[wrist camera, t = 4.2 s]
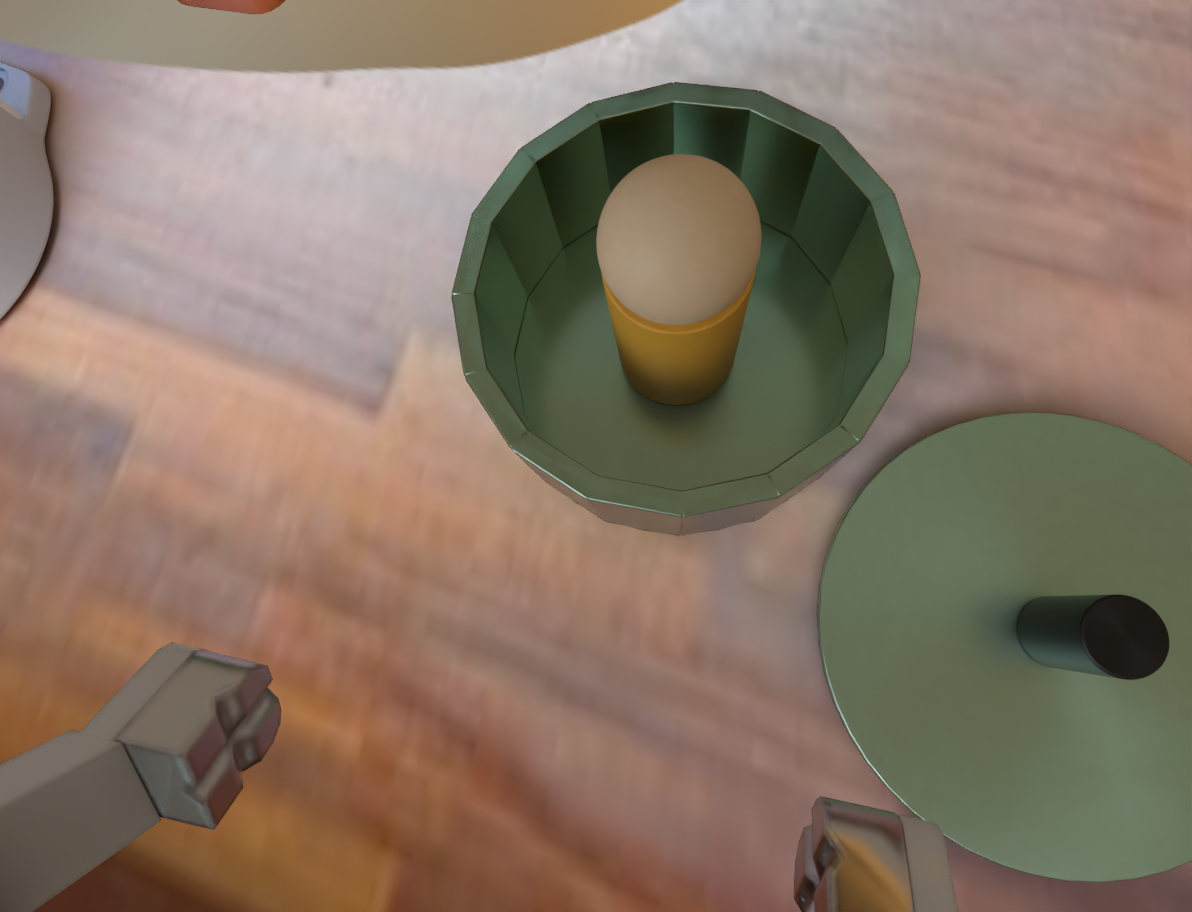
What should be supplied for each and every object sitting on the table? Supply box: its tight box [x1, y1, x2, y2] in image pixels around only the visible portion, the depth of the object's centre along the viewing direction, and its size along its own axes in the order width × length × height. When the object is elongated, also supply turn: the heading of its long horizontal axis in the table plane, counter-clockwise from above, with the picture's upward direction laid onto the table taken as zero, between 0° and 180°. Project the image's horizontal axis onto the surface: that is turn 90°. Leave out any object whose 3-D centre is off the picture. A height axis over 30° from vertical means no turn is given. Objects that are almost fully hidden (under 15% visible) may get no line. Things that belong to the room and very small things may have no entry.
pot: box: [452, 82, 920, 536], centre depth 26 cm, size 15×15×6 cm
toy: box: [596, 154, 762, 405], centre depth 23 cm, size 5×5×11 cm
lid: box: [817, 412, 1192, 882], centre depth 23 cm, size 16×16×5 cm
